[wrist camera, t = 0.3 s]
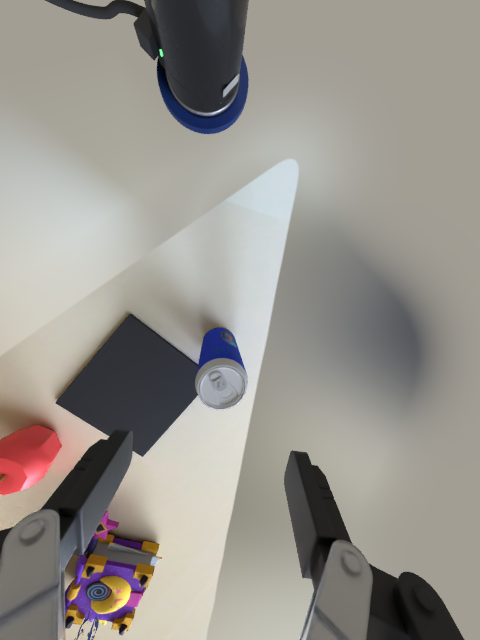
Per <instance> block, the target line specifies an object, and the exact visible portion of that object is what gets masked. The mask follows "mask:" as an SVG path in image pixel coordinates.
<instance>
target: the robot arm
mask: <svg viewBox="0 0 480 640" xmlns="http://www.w3.org/2000/svg"><path fill="white" fill-rule="evenodd" d="M45 1H48V2H50V3H52V4H54V5H57V6H59V7H61V8H64V9H66V10H69V11H71V12H74V13H77V14H80V15H84V16H88V17H92V18H98V19H111V18H113V17H115V16H116V15H117V14H119V13H127V14H131V15H133V16H136V17H138V19H137V20H136V21H135V22H134V27H135V30H136V33H137V36H138V39H139V42H140V45H141V47H142V48H143V49H144V50H145V51H146V52H147V53H148V54H149V56H150V57H151V58H152V59H153V60H155V59H156V58H157V56H159V60H160V64H161V68H162V69H163V70H164V71H165V72H166V76H167V80H168V84H169V87H170V90H171V93H172V95H173V97H174V98H175V100H176V101H177V103H178V104H179V105H180V106H181V107H182V108H183V109H184V110H185V111H187V112H188V113H190V114H192V115H194V116H196V117H199V118H215V117H218V116H220V115H222V114H223V113H225V112H226V111H227V110H228V109H229V108H230V107H231V106H232V104H233V103H234V101H235V99H236V96H237V93H238V89H239V82H240V66H241V59H242V51H243V43H244V34H245V26H246V18H247V9H248V1H249V0H144V1H145V5H146V8H145V7H142V6H140V5H138V4H135V3H133V2H130V1H126V0H115V1H112V2H111V3H110V4H109V5H107V6H106V7H99V6H92V5H87V4H83V3H79V2H76V1H73V0H45ZM132 446H133V431H131V430H123V429H115V430H114V431H113V433H112V434H111V435H110V437H109V438H108V440H103V439H101V440H99V441H98V442H96V443H95V444H94V445H92V446H91V447H90V448H89V449H88V450H87V451H86V453H85V454H84V455H83V456H82V458H81V460H79V461H78V463H77V464H76V465H75V467H74V469H73V470H71V472H70V473H69V474H68V475H67V477H66V478H65V479H64V481H63V482H62V483H61V484H60V486H59V487H58V488H57V489H56V491H55V492H54V493H53V494H52V496H51V497H50V498H49V500H48V501H47V502H46V503H45V505H44V506H43V507H42V508H41V509H40V510H39V511H37V512H34V513H32V514H30V515H28V516H27V517H25V518H24V519H22V520H21V521H20V522H19V523H18V524H16V525H15V526H14V527H12V528H9V529H5V530H1V531H0V640H65V574H64V569H65V567H66V565H67V564H68V562H69V560H70V558H71V557H72V555H73V554H76V555H83V554H84V552H85V550H86V548H87V546H88V544H89V542H90V540H91V538H92V537H93V535H94V533H95V531H96V529H97V527H98V525H99V523H100V521H101V519H102V518H103V516H104V514H105V512H106V510H107V508H108V506H109V504H110V502H111V500H112V498H113V497H114V495H115V493H116V491H117V489H118V487H119V485H120V483H121V481H122V479H123V478H124V476H125V474H126V472H127V470H128V468H129V465H130V462H131V459H132ZM284 485H285V491H286V496H287V501H288V507H289V512H290V516H291V521H292V527H293V532H294V537H295V542H296V547H297V552H298V557H299V562H300V567H301V572H302V577H303V578H310V579H312V582H313V586H314V593H313V595H312V599H311V602H310V606H309V609H308V612H307V615H306V619H305V622H304V625H303V629H302V632H301V636H300V639H299V640H464V639H463V637H462V635H461V633H460V631H459V629H458V628H457V626H456V624H455V622H454V621H453V619H452V617H451V615H450V613H449V612H448V610H447V608H446V606H445V604H444V603H443V601H442V599H441V598H440V597H439V596H438V594H437V593H436V591H435V590H434V589H433V588H432V587H431V586H430V585H429V584H428V583H427V582H426V581H425V580H424V579H422V578H421V577H419V576H418V575H416V574H414V573H410V572H403V573H401V575H400V576H399V578H396V577H393V576H391V575H389V574H387V573H385V572H383V571H381V570H379V569H377V568H376V567H374V566H372V565H371V564H369V563H368V561H367V560H366V558H365V557H364V555H363V554H362V553H361V551H360V550H359V549H358V548H357V547H355V546H354V545H353V544H352V542H351V540H350V538H349V535H348V533H347V530H346V527H345V525H344V522H343V520H342V517H341V515H340V512H339V510H338V507H337V505H336V502H335V500H334V497H333V494H332V492H331V490H330V487H329V484H328V482H327V479H326V476H325V475H324V474H323V473H322V471H321V470H320V469H319V467H318V466H314V465H311V462H310V459H309V456H308V454H307V453H306V452H298V451H291V453H290V456H289V460H288V464H287V467H286V471H285V476H284Z"/></svg>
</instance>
